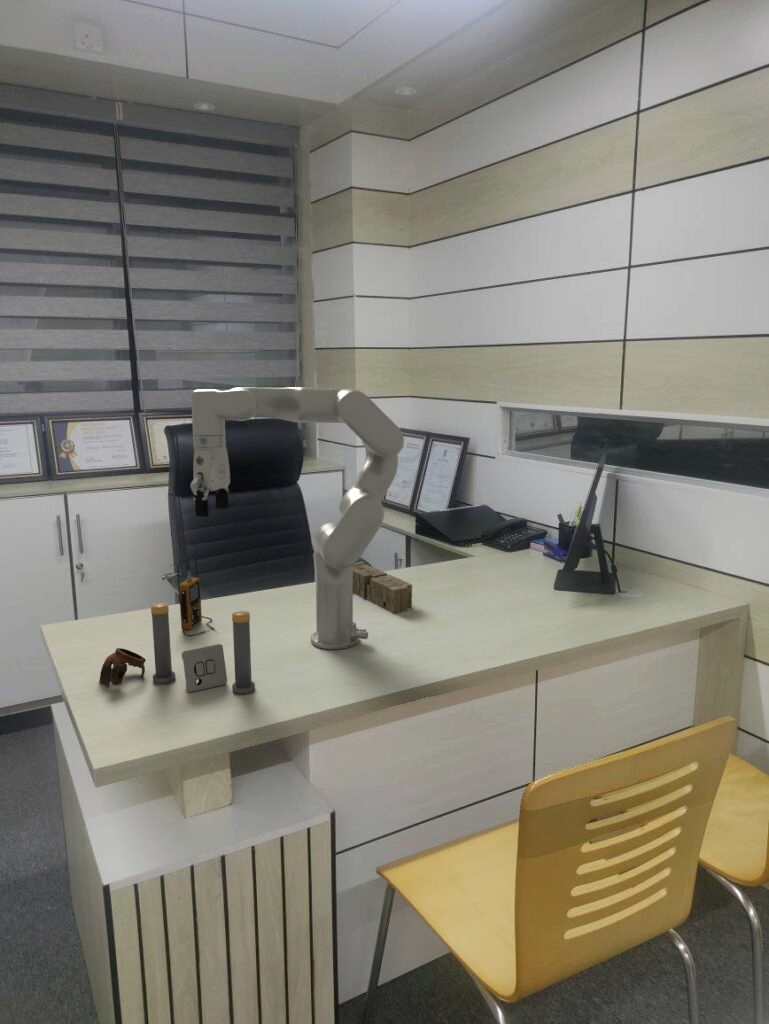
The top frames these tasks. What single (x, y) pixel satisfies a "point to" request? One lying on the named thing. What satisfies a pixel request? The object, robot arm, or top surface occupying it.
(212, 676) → the electrical switch
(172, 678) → the post far
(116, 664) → the brown curved hollow piece
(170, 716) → the top surface
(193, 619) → the multimeter
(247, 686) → the post near
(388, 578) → the block tower
